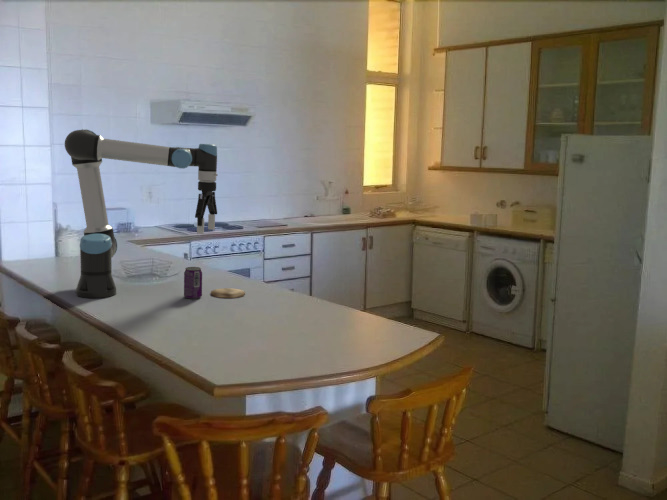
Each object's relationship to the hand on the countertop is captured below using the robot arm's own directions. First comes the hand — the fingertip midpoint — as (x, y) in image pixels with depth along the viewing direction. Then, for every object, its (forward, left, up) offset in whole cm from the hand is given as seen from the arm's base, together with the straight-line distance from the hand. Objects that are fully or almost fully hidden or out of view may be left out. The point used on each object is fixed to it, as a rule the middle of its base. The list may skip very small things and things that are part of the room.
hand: (206, 231), depth 293 cm
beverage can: (-8, -18, -24) cm, 31 cm away
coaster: (+7, -15, -24) cm, 29 cm away
